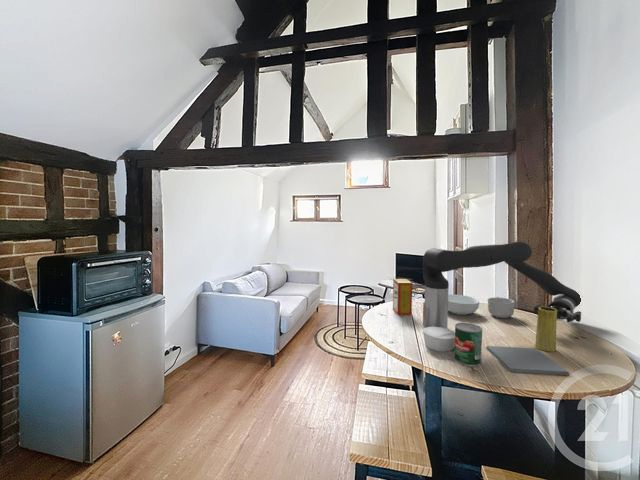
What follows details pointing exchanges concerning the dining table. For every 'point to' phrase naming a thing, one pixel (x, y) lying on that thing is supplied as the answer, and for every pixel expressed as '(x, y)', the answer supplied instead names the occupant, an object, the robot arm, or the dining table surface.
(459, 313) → the cereal bowl
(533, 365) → the slate mat
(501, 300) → the teacup
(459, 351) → the canned tomato
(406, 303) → the baking soda box
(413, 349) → the dining table surface
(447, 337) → the ramekin
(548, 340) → the vase
